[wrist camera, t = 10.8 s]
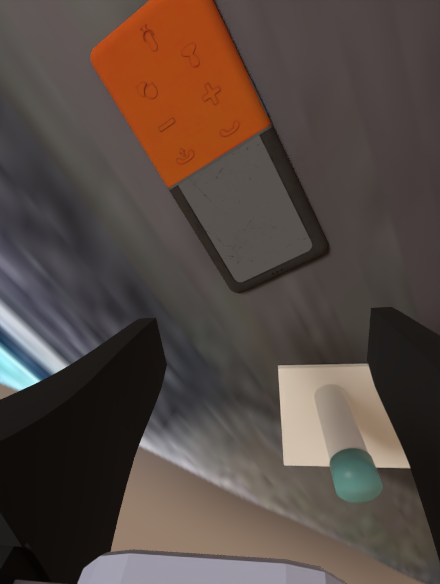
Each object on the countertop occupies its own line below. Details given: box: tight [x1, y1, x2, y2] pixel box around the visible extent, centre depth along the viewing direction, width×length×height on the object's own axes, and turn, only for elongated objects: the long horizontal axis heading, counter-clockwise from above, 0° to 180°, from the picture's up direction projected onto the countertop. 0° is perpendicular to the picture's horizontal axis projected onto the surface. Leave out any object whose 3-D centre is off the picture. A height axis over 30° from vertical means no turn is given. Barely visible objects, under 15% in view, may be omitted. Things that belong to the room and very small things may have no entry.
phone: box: [91, 0, 327, 293], centre depth 19 cm, size 6×1×15 cm
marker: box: [314, 384, 383, 503], centre depth 21 cm, size 2×2×7 cm
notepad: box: [278, 364, 410, 468], centre depth 25 cm, size 14×10×1 cm
